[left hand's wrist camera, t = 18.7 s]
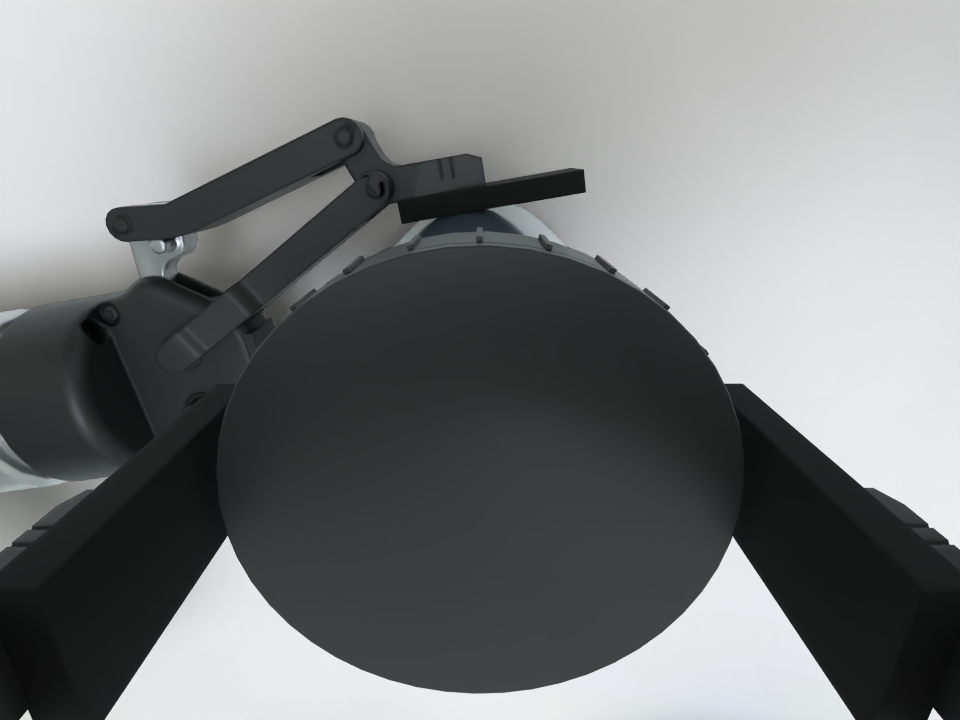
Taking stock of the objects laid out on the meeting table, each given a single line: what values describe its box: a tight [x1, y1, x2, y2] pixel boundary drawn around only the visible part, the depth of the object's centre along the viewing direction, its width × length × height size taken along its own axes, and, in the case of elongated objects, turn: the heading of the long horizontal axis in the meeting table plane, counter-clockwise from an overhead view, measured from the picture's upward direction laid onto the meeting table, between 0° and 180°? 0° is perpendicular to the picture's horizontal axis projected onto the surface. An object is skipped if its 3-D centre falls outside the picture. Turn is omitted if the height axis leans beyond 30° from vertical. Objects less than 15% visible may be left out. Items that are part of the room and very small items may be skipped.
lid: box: [216, 227, 744, 693], centre depth 11 cm, size 10×10×2 cm
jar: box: [395, 204, 567, 247], centre depth 19 cm, size 9×9×17 cm
